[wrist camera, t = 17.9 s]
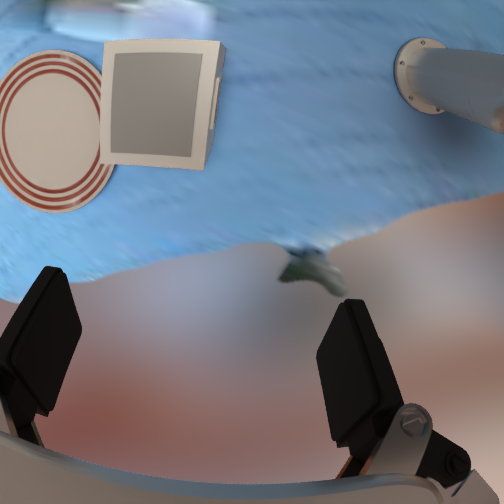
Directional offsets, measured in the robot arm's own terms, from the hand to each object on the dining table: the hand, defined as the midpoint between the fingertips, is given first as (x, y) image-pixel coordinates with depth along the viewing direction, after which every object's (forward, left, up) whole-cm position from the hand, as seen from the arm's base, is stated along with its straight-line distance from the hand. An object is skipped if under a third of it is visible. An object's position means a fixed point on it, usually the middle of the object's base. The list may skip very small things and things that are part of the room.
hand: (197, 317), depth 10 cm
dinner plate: (+29, +3, -37) cm, 47 cm away
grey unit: (+8, -3, -36) cm, 37 cm away
